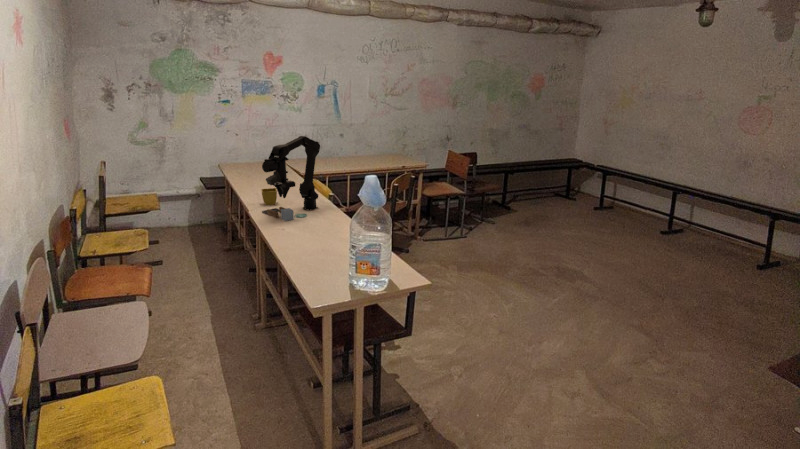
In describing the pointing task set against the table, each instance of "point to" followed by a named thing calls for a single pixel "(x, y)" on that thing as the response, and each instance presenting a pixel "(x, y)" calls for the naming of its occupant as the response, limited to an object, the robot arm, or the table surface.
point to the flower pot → (269, 196)
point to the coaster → (300, 215)
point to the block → (287, 214)
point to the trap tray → (272, 210)
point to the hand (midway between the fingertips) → (282, 197)
